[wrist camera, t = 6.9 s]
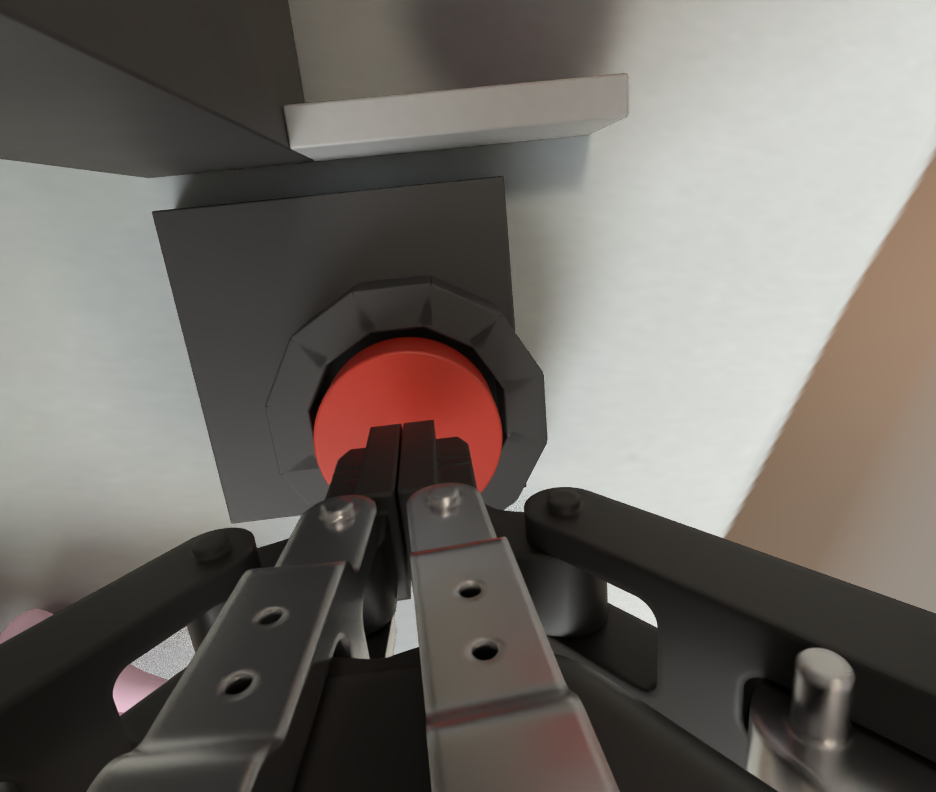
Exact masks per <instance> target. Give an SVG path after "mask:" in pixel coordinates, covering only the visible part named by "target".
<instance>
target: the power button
mask: <svg viewBox="0 0 936 792" xmlns="http://www.w3.org/2000/svg"><path fill="white" fill-rule="evenodd" d="M433 419H434V425H435V432H436V439H440V438H448V437H456V436H458V437H459V438H461V439H462V440H464V441H465V442H466V443H468V445H469V450H470V455H471V460H472V465H473V470H474V475H475V480H476V485H477V490H478V491H479V492H480V493H481V492H482V491H483V490H484V488H485V487H486V486H487V485H488V483H489V481H490V480H491V478H492V476H493V475H494V472H495V470H496V468H497V465H498V462H499V459H500V455H501V449H502V425H501V419H500V416H499V412H498V409H497V406H496V404H495V401H494V398H493V396H492V393H491V391H490V388H489V386H488V384H487V382H486V380H485V379H484V377H483V375H482V374H481V372H480V371H479V370H478V369H477V367H476V366H475V365H474V364H473V363H472V362H471V361H470V360H469V359H468V358H467V357H465V356H464V355H463V354H461V353H460V352H458V351H457V350H455V349H454V348H452V347H450V346H448V345H446V344H443V343H440V342H438V341H435V340H431V339H426V338H419V337H398V338H392V339H387V340H384V341H381V342H378V343H375V344H373V345H371V346H368V347H366V348H365V349H363V350H361V351H360V352H358V353H357V354H355V355H354V356H353V357H352V358H351V359H349V360H348V361H347V362H346V363H345V364H344V366H343V367H342V368H341V369H340V370H339V372H338V373H337V375H336V376H335V378H334V379H333V381H332V383H331V385H330V387H329V388H328V390H327V392H326V394H325V396H324V398H323V400H322V402H321V404H320V406H319V409H318V412H317V415H316V419H315V425H314V438H313V442H314V450H315V455H316V459H317V463H318V465H319V468H320V470H321V472H322V475H323V476H324V478H325V480H326V481H327V483H328V485H329V486H330V483H331V481H332V477H333V474H334V473H335V468H336V465H337V462H338V459H340V458H341V457H342V456H343V455H344V454H345V453H347V452H348V451H349V450H350V449H358V448H366V444H367V440H368V436H369V431H370V428H371V427H375V426H384V425H392V424H402V428H403V424H404V423H408V422H417V421H425V420H433Z"/></svg>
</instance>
